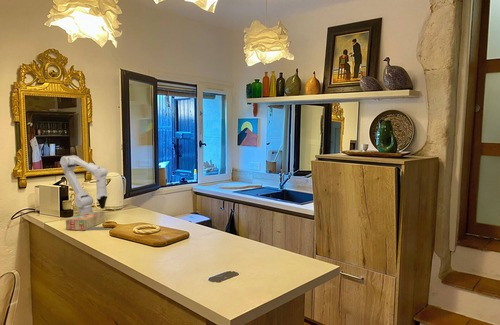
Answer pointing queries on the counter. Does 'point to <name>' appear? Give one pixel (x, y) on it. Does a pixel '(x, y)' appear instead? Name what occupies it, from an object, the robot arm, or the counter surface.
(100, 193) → the robot arm
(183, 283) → the counter surface
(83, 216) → the patterned cardboard box
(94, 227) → the strip
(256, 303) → the counter surface
